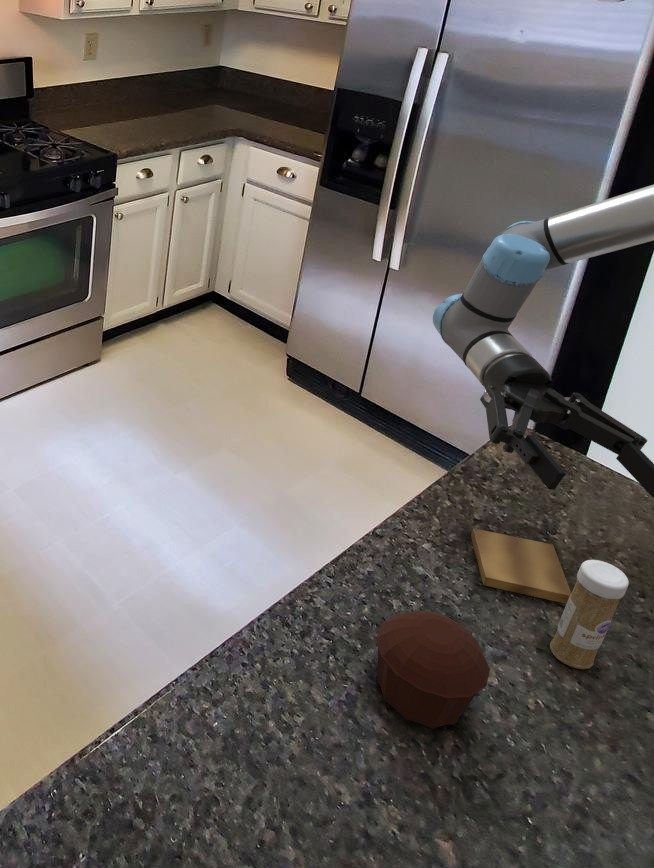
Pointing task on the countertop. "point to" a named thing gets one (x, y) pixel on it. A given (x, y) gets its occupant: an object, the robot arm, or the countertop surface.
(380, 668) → the muffin
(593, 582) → the sprinkles bottle
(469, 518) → the countertop surface
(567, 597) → the cutting board
